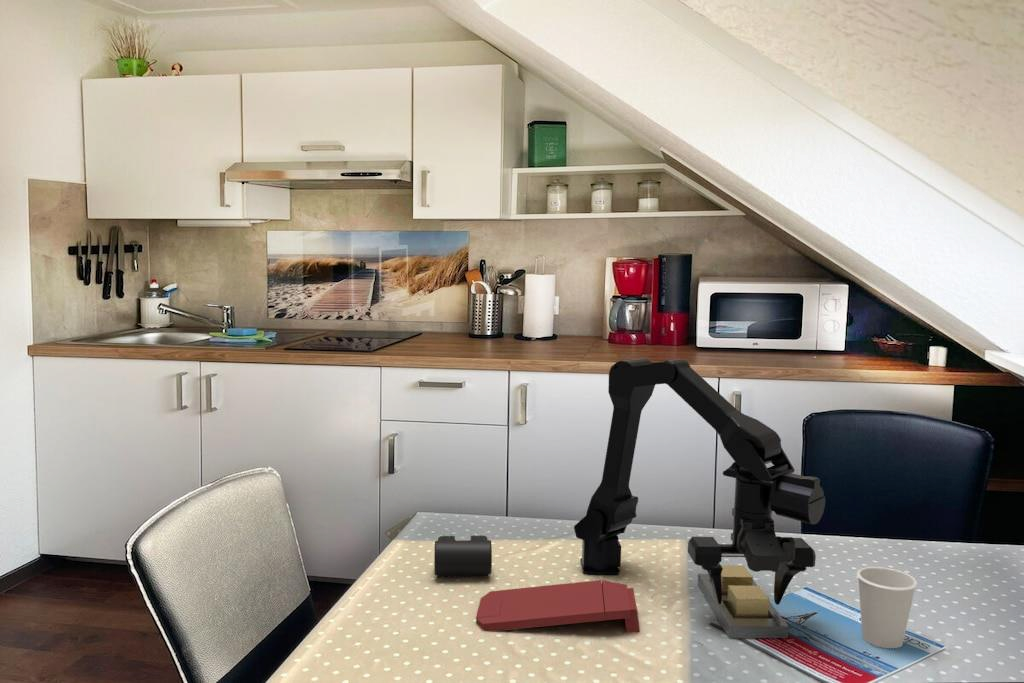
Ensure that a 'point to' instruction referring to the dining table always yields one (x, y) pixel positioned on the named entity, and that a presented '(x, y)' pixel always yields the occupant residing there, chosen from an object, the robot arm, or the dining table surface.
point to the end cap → (462, 557)
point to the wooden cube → (747, 602)
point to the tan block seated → (735, 577)
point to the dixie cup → (885, 605)
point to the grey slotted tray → (740, 626)
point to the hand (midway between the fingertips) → (747, 603)
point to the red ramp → (558, 606)
